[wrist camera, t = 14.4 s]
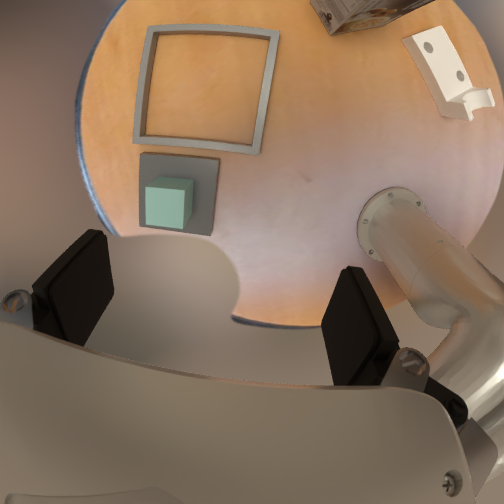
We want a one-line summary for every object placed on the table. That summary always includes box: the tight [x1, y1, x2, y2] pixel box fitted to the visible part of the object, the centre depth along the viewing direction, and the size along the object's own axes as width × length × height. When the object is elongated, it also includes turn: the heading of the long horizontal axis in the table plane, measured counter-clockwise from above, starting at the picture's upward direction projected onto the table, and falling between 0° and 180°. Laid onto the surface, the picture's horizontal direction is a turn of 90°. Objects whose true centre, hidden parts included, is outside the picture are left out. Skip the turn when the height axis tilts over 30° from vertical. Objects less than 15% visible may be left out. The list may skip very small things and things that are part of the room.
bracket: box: [401, 26, 495, 121], centre depth 23 cm, size 13×7×8 cm, turn 36°
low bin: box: [133, 24, 280, 156], centre depth 29 cm, size 17×17×2 cm
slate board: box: [139, 152, 220, 236], centre depth 37 cm, size 11×11×2 cm
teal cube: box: [145, 177, 194, 229], centre depth 34 cm, size 5×5×5 cm
